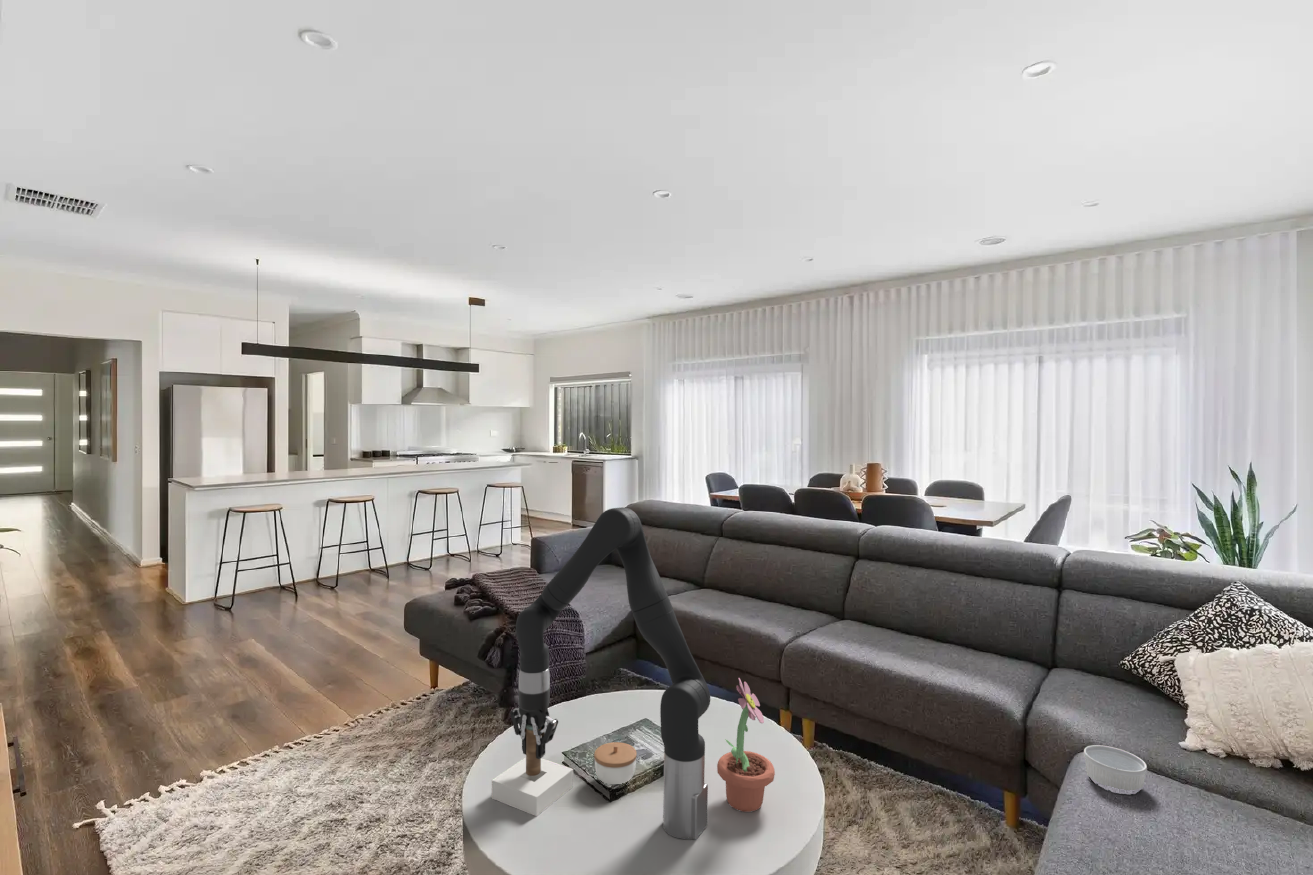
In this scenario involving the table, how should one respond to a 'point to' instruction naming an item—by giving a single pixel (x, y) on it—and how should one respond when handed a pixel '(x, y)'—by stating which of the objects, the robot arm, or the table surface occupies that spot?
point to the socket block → (532, 786)
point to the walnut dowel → (531, 753)
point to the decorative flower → (745, 762)
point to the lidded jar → (615, 762)
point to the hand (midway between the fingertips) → (533, 754)
